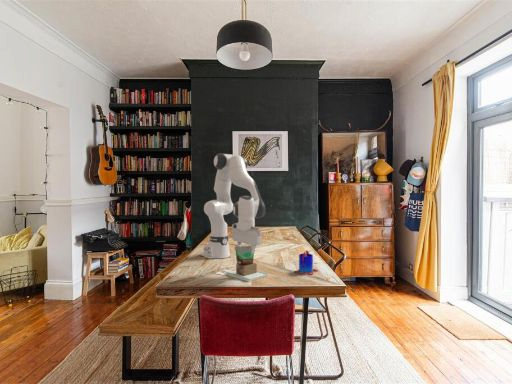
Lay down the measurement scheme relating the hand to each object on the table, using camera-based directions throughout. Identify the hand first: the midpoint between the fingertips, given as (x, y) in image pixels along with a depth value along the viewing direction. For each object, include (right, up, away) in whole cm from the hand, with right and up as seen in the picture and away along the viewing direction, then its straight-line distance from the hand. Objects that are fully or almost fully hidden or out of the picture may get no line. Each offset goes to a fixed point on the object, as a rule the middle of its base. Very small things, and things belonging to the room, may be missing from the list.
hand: (246, 251), depth 168 cm
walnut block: (0, -12, 0) cm, 12 cm away
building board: (0, -13, 0) cm, 13 cm away
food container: (0, -7, 0) cm, 7 cm away
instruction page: (-13, -13, +6) cm, 19 cm away
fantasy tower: (+33, -13, +8) cm, 37 cm away
